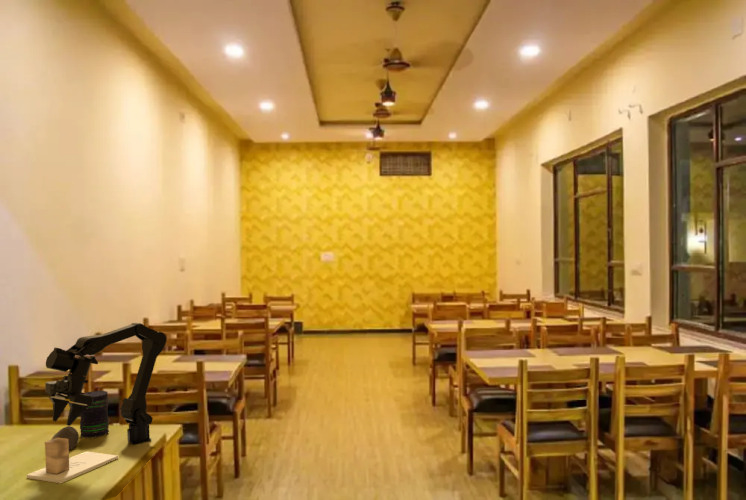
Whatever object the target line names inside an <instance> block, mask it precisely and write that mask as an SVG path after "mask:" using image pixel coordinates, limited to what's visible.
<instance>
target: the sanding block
mask: <svg viewBox="0 0 746 500" xmlns="http://www.w3.org/2000/svg"><path fill="white" fill-rule="evenodd" d="M51 439H52V438H51ZM51 439H50V440H46V441H45V442H44V452H45V453H44V454H45V455H44V456H45V467H46V473H48V474H54V475H58V474H60V473H63V472H65V471H67V470H69V458H70V451H69V450H70V449H69V443H68V439H66V438H55V439H52V440H51Z"/></svg>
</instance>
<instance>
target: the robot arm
mask: <svg viewBox="0 0 746 500" xmlns="http://www.w3.org/2000/svg"><path fill="white" fill-rule="evenodd" d="M133 337H136V338H137V339H139V340H140V341H141V342H142V343H141V351H142V357H141V361H140V363H139V368H138V370H137V374H136V377H135V381H134V384H133V388H132V391H131V393H130V395H129V396H128V397H124V398H123V399H122V405H121V406H120V408H119V410H120V415H121V417H122V418H123V419H124V420H125V422H126V424H128V428H127V430H126V431H127V434H126V435H127V436H126V437H127V441H128V442H129V443H130V444H131V445H137V444H141V443H146V442H151V441H152V438H150V435H151V434H150V425H151V424H152V422H153V419H154V418H153V417H152V416H151V415H150V414H149V413H147V407H148V406H147V405H148V403H147V398H146V397H147V392H148V388H149V385H150V383H151V382H150V381H151V378H152V375H153V372H154V368H155V364H156V362H157V361H156V360H157V358H158V356H159V355H160V354H161V353H162V352H163V350H164V349H165V346H166V343H167V341H168V338H167V336H166V334H165V333H164V332H162V331H157V330H154V329H152V328H150V327H148V326H146V325H144V324H143V323H140V322H132V323H131V324H128V325H126V326H125V325H124V326H122V327H120V328H117V329H113V330H111V331H108V332H105V333H102V334H96V335H95V334H93V335H87V336H80V337H79V338H78V339H77V340H76V342H75V343H74V345H72V346H70V348H68V349H66V350H65V349H62V348H60V347H54V348H53V350H52V351H51V352H50V353H49V355H48V356H47V357H46V361H45V367H46V368H47V369H49V370H54V371H58V372H63V373H65V372H66V373H67V372H68V373H67V375H64V376H62V379H60V380H58V379H57V380H54V381H53V380H52V381H46V382H45V386H44V387H45V390H44V391H45V393H46V395H47V396H48V399H49V400H50V401H51V404H52V421H53V422H57V421H58V419H59V418H60V416H61V415H62V413H63V412H64V410H65V409H66V407H67V406H68V407H69V411H68V416H67V420H66V426H71V425H72V424H73V423H74V422H75V421H76V420H77V419H78V417H79V416H81V413H82V412H83V411H84V410H85V409H86V408H88V407H89V406H87V405H92V403H93V400H94V399H93V397H92V396H89V395H84V393H85V392H83V389H84V388H85V387H84V386H85V384H88V382H89V380H88V379H87V377H88V374H89V371H90V368H91V365H98V364H99V362H98V360H97V359H96V356H94V355H96V354H99V353H100V352H102V351H103V350H104V349H105V348H106V347H108V346H111V345H113V344H115V343H119V342H122V341H124V340H126V339H129V338H133ZM76 356H78V357H76ZM88 356H89V357H88Z"/></svg>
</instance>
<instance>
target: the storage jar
mask: <svg viewBox="0 0 746 500" xmlns="http://www.w3.org/2000/svg"><path fill="white" fill-rule="evenodd" d="M83 393H84V395H89V396H92V397H93V399H94V400H93V403H92V405H87V406H89V407H88V408H86V409H85V410H84V411H83V412H82V413H81V414H80V421H79V424H80V425H79V430H80V437H81V438H83V437H84V439H89V438H90V439H91V438H92V437H93V438H99V437H104V436H105V434H106V435H108V434H109V433H108V432H110V431H109V428H110V427H109V425H110V422H109V416H108V407H109V399H108V397H109V396H108V391H107V390H106V391H105V390H96V391H95V390H93V391H87V392H83ZM107 433H108V434H107Z"/></svg>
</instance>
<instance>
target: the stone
mask: <svg viewBox="0 0 746 500" xmlns="http://www.w3.org/2000/svg"><path fill="white" fill-rule="evenodd" d="M55 438H66V439H68V443H69V450H70V451H71V450H72V451H73V450H75V447H76V446H77V445H78V442H79V439H80V434H79V433H78V430H77V429H76V428H75V427H74V426H71V425H70V426H68V425H66V426H64V427H63V428H61V429H59V430H58V431H57V432H56V433H55V434H54V435H53V436H52V438H51V439H50V440H52V439H55Z"/></svg>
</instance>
